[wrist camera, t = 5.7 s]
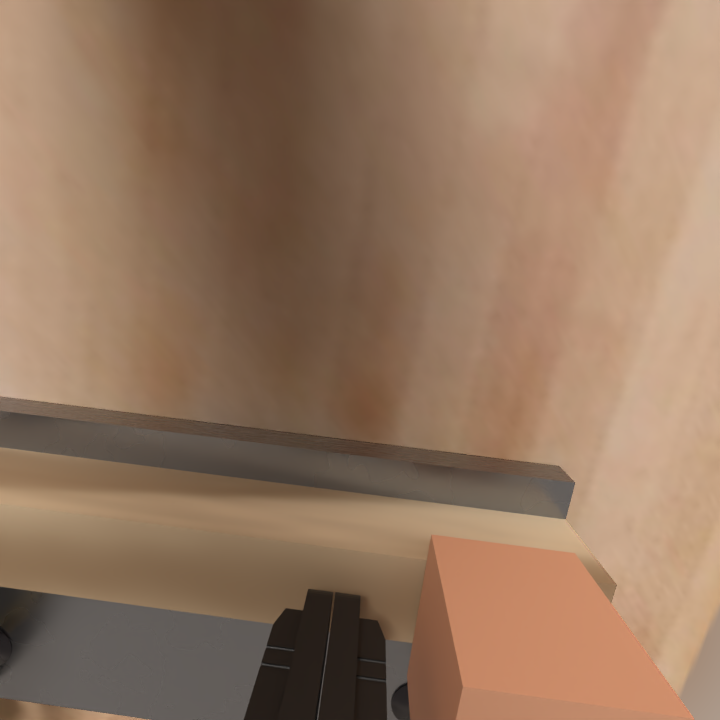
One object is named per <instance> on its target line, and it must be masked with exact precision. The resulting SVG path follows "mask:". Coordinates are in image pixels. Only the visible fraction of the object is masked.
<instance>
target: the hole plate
mask: <svg viewBox="0 0 720 720" xmlns="http://www.w3.org/2000/svg"><path fill="white" fill-rule="evenodd" d="M0 447H2V448H10V449H18V450H25V451H33V452H41V453H49V454H57V455H65V456H72V457H80V458H88V459H96V460H104V461H112V462H119V463H127V464H135V465H143V466H151V467H159V468H166V469H174V470H182V471H190V472H198V473H205V474H213V475H221V476H229V477H237V478H245V479H252V480H260V481H268V482H276V483H284V484H292V485H299V486H307V487H315V488H323V489H331V490H339V491H346V492H354V493H362V494H370V495H378V496H386V497H393V498H401V499H409V500H417V501H425V502H432V503H440V504H448V505H456V506H464V507H472V508H479V509H487V510H495V511H503V512H511V513H519V514H526V515H534V516H542V517H550V518H558V519H566V516H567V512H568V508H569V504H570V501H571V497H572V493H573V489H574V485H575V482H574V481H573V480H572V479H571V478H570V477H569V476H568V475H567V474H566V473H565V472H564V471H563V470H562V469H561V468H560V467H559V466H553V465H545V464H537V463H529V462H520V461H512V460H504V459H496V458H488V457H480V456H472V455H464V454H456V453H448V452H440V451H432V450H424V449H416V448H408V447H400V446H392V445H384V444H376V443H368V442H360V441H352V440H344V439H335V438H327V437H319V436H311V435H303V434H295V433H287V432H279V431H271V430H263V429H255V428H247V427H239V426H231V425H223V424H215V423H207V422H199V421H191V420H183V419H175V418H167V417H159V416H151V415H142V414H134V413H126V412H118V411H110V410H102V409H94V408H86V407H78V406H70V405H62V404H54V403H46V402H38V401H30V400H22V399H14V398H6V397H0ZM272 626H273V624H269V623H262V622H255V621H247V620H240V619H233V618H226V617H218V616H211V615H204V614H196V613H189V612H182V611H175V610H167V609H160V608H153V607H145V606H138V605H131V604H123V603H116V602H109V601H102V600H94V599H87V598H80V597H72V596H65V595H58V594H51V593H43V592H36V591H29V590H21V589H14V588H7V587H0V698H5V699H12V700H19V701H26V702H33V703H40V704H47V705H54V706H61V707H68V708H74V709H81V710H88V711H95V712H102V713H109V714H116V715H123V716H130V717H137V718H144V719H150V720H244V717H245V714H246V711H247V707H248V704H249V701H250V698H251V694H252V691H253V688H254V684H255V681H256V678H257V675H258V671H259V668H260V666H261V662H262V658H263V655H264V652H265V649H266V646H267V642H268V639H269V636H270V632H271V629H272ZM329 636H330V632H329V635H328V643H329ZM411 649H412V643H408V642H400V641H393V640H386V687H387V720H410V711H409V697H408V683H407V672H408V666H409V660H410V655H411ZM327 650H328V644H327ZM326 658H327V651H326ZM325 665H326V659H325ZM324 672H325V666H324ZM323 679H324V673H323ZM322 687H323V681H322ZM321 694H322V688H321ZM320 701H321V695H320ZM319 708H320V702H319ZM318 716H319V709H318ZM318 716H317V720H318Z"/></svg>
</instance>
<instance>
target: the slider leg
mask: <svg viewBox="0 0 720 720" xmlns="http://www.w3.org/2000/svg"><path fill="white" fill-rule="evenodd" d="M407 683H408V697H409V711H410V720H694V718H693V716H692V715H691V714H690V712H689V711H688V709H687V708H686V707H685V705H684V704H683V703H682V701H681V700H680V698H679V697H678V696H677V694H676V693H675V691H674V690H673V689H672V687H671V686H670V684H669V683H668V682H667V680H666V679H665V678H664V676H663V675H662V673H661V672H660V671H659V669H658V668H657V666H656V665H655V664H654V662H653V661H652V659H651V658H650V657H649V655H648V654H647V653H646V651H645V650H644V648H643V647H642V646H641V644H640V643H639V641H638V640H637V639H636V637H635V636H634V634H633V633H632V632H631V630H630V629H629V628H628V626H627V625H626V623H625V622H624V621H623V619H622V618H621V616H620V615H619V614H618V612H617V611H616V609H615V608H614V607H613V605H612V604H611V603H610V601H609V600H608V598H607V597H606V596H605V594H604V593H603V591H602V590H601V589H600V587H599V586H598V584H597V583H596V582H595V580H594V579H593V578H592V576H591V575H590V573H589V572H588V571H587V569H586V568H585V566H584V565H583V564H582V562H581V561H580V559H579V558H578V557H577V555H576V554H575V553H570V552H563V551H555V550H547V549H539V548H532V547H524V546H516V545H509V544H501V543H493V542H486V541H478V540H470V539H462V538H455V537H447V536H439V535H432V534H431V539H430V545H429V551H428V557H427V562H426V568H425V574H424V580H423V586H422V591H421V597H420V603H419V609H418V614H417V620H416V626H415V632H414V637H413V643H412V649H411V655H410V660H409V666H408V672H407Z"/></svg>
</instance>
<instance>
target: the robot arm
mask: <svg viewBox="0 0 720 720" xmlns="http://www.w3.org/2000/svg"><path fill="white" fill-rule="evenodd" d="M332 600H333V592H330V591H323V590H315V589H308V591H307V595H306V600H305V604H304V608H303V610H296V609H289V608H285V610H284V611H283V612H282V614H281V615H280V616H279V617H278V619H277V620H276V621H275V622H274V624H273V626H272V629H271V632H270V636H269V639H268V642H267V646H266V649H265V652H264V655H263V658H262V662H261V666H260V668H259V671H258V675H257V678H256V681H255V684H254V688H253V691H252V694H251V698H250V701H249V704H248V707H247V711H246V714H245V717H244V720H317V716H318V709H319V716H318V720H387V687H386V639H385V637H384V635H383V632H382V630H381V627H380V625H379V623H378V620H371V619H363V618H360V600H361V596H360V595H354V594H346V593H339V592H335V599H334V607H333V614H332V621H331V628H330V636H329V643H328V635H329V627H330V618H331V609H332ZM327 644H328V650H327ZM326 651H327V658H326ZM325 659H326V665H325ZM324 666H325V672H324ZM323 673H324V679H323ZM322 681H323V687H322ZM321 688H322V694H321ZM320 695H321V701H320ZM319 702H320V708H319Z"/></svg>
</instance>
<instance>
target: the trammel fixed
mask: <svg viewBox="0 0 720 720" xmlns="http://www.w3.org/2000/svg"><path fill="white" fill-rule="evenodd" d="M431 534H432V535H439V536H447V537H455V538H462V539H470V540H478V541H486V542H493V543H501V544H509V545H516V546H524V547H532V548H539V549H547V550H555V551H563V552H570V553H575V554H576V555H577V557H578V558H579V559H580V561H581V562H582V564H583V565H584V566H585V568H586V569H587V571H588V572H589V573H590V575H591V576H592V578H593V579H594V580H595V582H596V583H597V584H598V586H599V587H600V589H601V590H602V591H603V593H604V594H605V596H606V597H607V598H608V600H609V601H610V603H611V602H612V599H613V596H614V592H615V589H616V586H617V585H616V583H615V582H614V581H613V579H612V578H611V577H610V576H609V574H608V573H607V572H606V571H605V569H604V568H603V567H602V565H601V564H600V563H599V562H598V560H597V559H596V558H595V556H594V555H593V554H592V553H591V551H590V550H589V549H588V548H587V546H586V545H585V544H584V542H583V541H582V540H581V539H580V537H579V536H578V535H577V533H576V532H575V531H574V530H573V528H572V527H571V526H570V525H569V523H568V522H567V521H566V519H558V518H550V517H542V516H534V515H526V514H519V513H511V512H503V511H495V510H487V509H479V508H472V507H464V506H456V505H448V504H440V503H432V502H425V501H417V500H409V499H401V498H393V497H386V496H378V495H370V494H362V493H354V492H346V491H339V490H331V489H323V488H315V487H307V486H299V485H292V484H284V483H276V482H268V481H260V480H252V479H245V478H237V477H229V476H221V475H213V474H205V473H198V472H190V471H182V470H174V469H166V468H159V467H151V466H143V465H135V464H127V463H119V462H112V461H104V460H96V459H88V458H80V457H72V456H65V455H57V454H49V453H41V452H33V451H25V450H18V449H10V448H2V447H0V587H7V588H14V589H21V590H29V591H36V592H43V593H51V594H58V595H65V596H72V597H80V598H87V599H94V600H102V601H109V602H116V603H123V604H131V605H138V606H145V607H153V608H160V609H167V610H175V611H182V612H189V613H196V614H204V615H211V616H218V617H226V618H233V619H240V620H247V621H255V622H262V623H269V624H274V622H275V621H276V620H277V619H278V617H279V616H280V615H281V614H282V612H283V611H284V610H285V608H289V609H296V610H303V608H304V604H305V600H306V595H307V591H308V589H315V590H323V591H330V592H333V600H332V609H331V618H330V627H329V632H330V628H331V621H332V614H333V607H334V599H335V592H339V593H346V594H354V595H360V596H361V600H360V618H363V619H371V620H378V623H379V625H380V627H381V630H382V632H383V635H384V637H385V639H386V640H393V641H400V642H408V643H413V637H414V632H415V626H416V620H417V614H418V609H419V603H420V597H421V591H422V586H423V580H424V574H425V568H426V562H427V557H428V551H429V545H430V539H431Z"/></svg>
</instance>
